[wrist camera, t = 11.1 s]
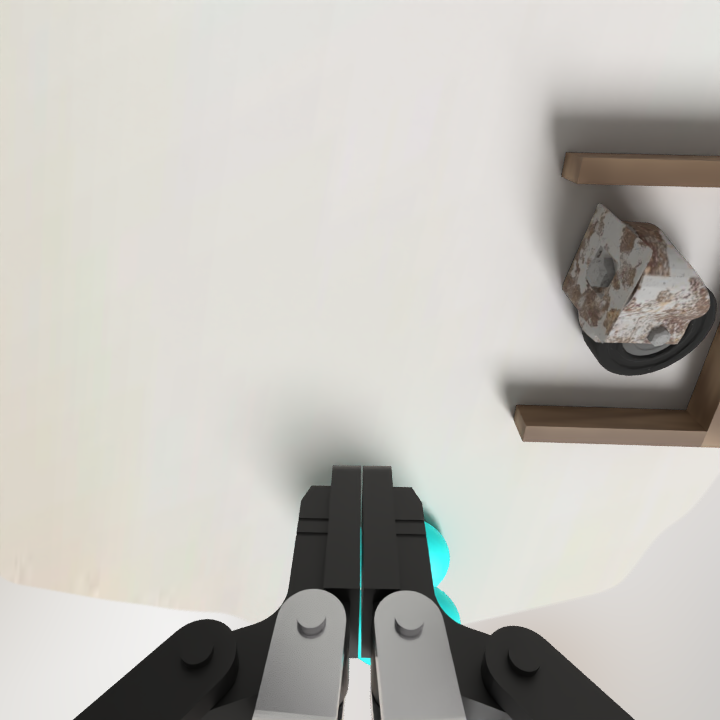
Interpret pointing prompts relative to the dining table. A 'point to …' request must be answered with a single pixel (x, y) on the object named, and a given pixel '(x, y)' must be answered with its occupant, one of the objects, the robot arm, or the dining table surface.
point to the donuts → (439, 569)
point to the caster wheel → (636, 296)
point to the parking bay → (716, 381)
